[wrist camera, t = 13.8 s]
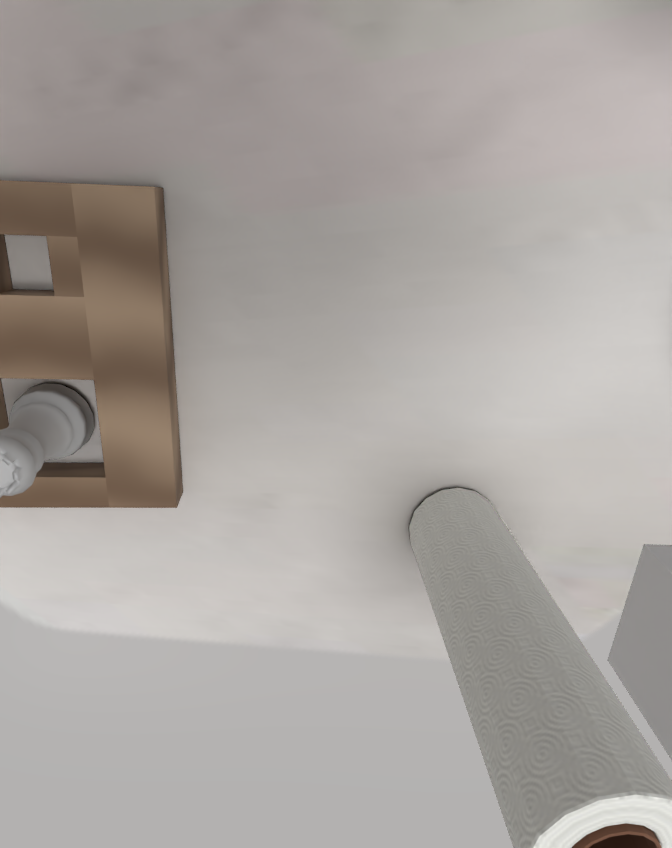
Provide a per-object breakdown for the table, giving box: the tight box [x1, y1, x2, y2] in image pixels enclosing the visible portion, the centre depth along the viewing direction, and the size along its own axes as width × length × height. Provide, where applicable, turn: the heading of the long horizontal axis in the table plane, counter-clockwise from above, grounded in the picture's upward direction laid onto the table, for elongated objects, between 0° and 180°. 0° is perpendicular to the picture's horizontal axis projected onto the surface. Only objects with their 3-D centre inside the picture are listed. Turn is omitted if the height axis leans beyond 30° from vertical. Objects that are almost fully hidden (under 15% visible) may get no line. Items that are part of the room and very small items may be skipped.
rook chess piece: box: [0, 383, 94, 498], centre depth 30 cm, size 4×4×8 cm
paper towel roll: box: [409, 488, 672, 848], centre depth 29 cm, size 7×6×21 cm
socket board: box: [0, 180, 183, 508], centre depth 32 cm, size 18×14×2 cm
